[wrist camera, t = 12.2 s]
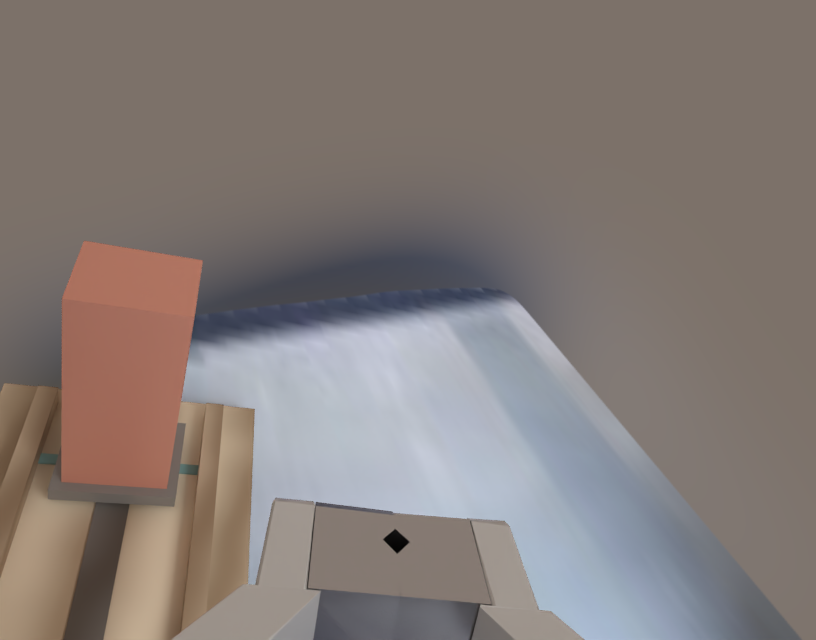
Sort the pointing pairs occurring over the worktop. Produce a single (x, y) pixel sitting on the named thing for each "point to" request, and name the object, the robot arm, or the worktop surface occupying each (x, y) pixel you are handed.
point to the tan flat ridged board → (119, 531)
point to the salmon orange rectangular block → (124, 375)
